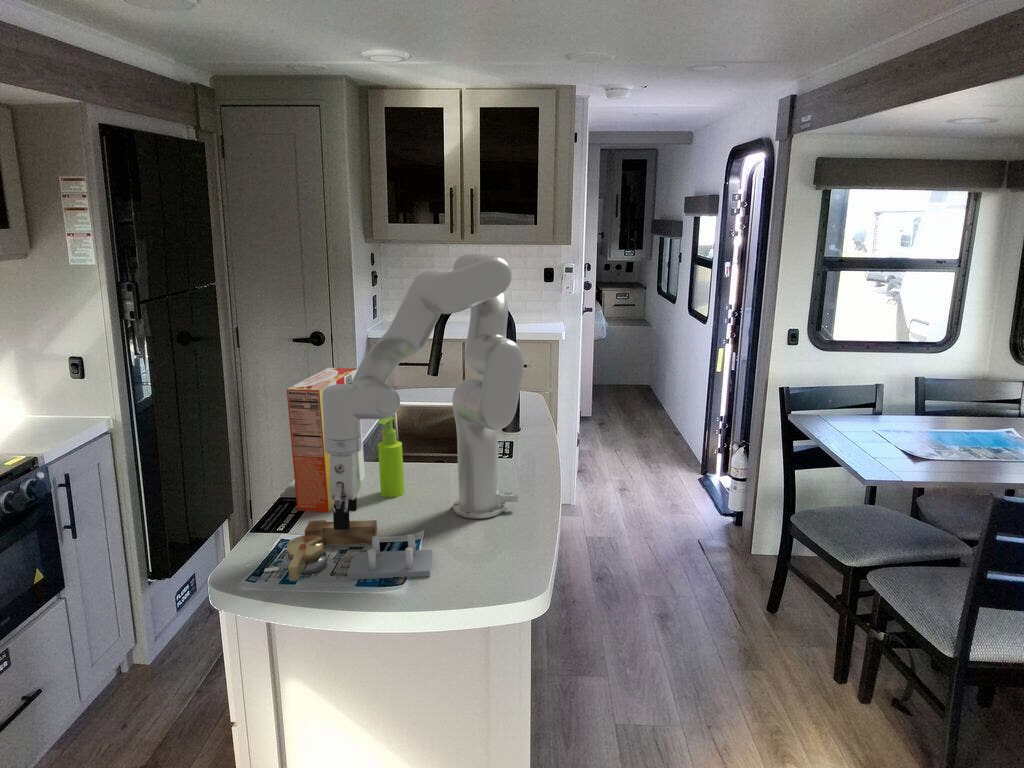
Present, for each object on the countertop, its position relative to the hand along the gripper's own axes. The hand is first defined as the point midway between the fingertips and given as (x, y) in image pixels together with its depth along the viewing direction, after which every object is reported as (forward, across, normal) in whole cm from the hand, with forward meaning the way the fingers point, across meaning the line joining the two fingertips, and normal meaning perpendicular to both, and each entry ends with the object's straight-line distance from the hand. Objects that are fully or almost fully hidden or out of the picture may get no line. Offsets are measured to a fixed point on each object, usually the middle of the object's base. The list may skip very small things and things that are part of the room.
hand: (345, 519), depth 155 cm
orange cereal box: (+5, +28, +8) cm, 30 cm away
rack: (+5, -12, -11) cm, 17 cm away
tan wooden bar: (+5, +1, +1) cm, 5 cm away
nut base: (+6, -10, +8) cm, 14 cm away
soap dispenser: (+5, +26, -7) cm, 28 cm away
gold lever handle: (+3, -14, +6) cm, 16 cm away
